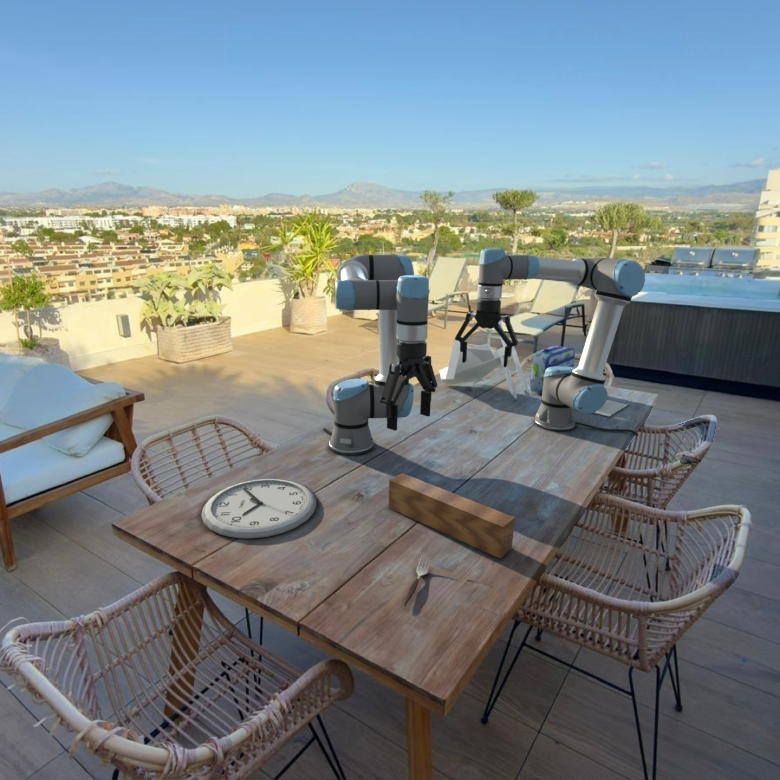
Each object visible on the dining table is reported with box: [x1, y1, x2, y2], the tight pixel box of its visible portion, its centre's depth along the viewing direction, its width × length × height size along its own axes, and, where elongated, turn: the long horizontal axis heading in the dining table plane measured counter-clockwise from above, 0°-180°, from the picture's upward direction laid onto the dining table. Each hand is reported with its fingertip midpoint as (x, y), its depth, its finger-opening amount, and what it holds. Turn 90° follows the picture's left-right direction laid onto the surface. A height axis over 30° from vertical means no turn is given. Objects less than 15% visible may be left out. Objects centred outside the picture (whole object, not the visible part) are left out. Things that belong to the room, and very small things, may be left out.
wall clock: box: [201, 478, 317, 539], centre depth 141 cm, size 30×2×30 cm
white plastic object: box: [438, 320, 531, 400], centre depth 245 cm, size 37×45×31 cm
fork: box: [403, 554, 432, 607], centre depth 111 cm, size 3×16×2 cm, turn 160°
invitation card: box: [593, 399, 629, 418], centre depth 226 cm, size 21×1×15 cm
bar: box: [388, 472, 516, 560], centre depth 132 cm, size 34×6×8 cm, turn 49°
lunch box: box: [529, 345, 576, 394], centre depth 244 cm, size 26×11×21 cm, turn 135°
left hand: (409, 421), depth 134 cm, fingers open, 13 cm apart
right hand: (484, 364), depth 172 cm, fingers open, 13 cm apart
